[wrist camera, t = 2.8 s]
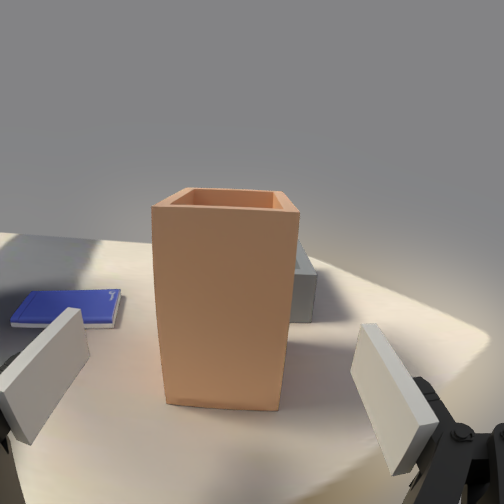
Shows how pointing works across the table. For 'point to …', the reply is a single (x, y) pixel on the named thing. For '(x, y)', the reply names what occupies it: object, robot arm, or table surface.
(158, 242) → the tall tapered brown container
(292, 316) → the tray
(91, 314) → the hard drive
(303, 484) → the table surface
